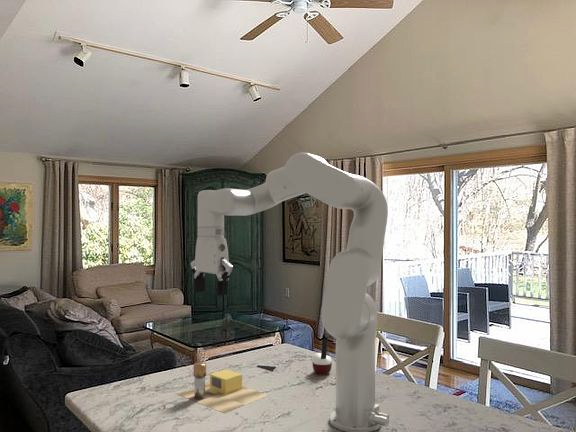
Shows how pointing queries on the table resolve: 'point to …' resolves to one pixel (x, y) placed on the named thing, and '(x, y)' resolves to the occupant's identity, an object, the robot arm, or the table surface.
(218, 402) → the subfloor panel
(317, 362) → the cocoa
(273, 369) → the smartphone
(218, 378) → the yellow rectangular block
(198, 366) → the two-tone metal cylinder
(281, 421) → the table surface
